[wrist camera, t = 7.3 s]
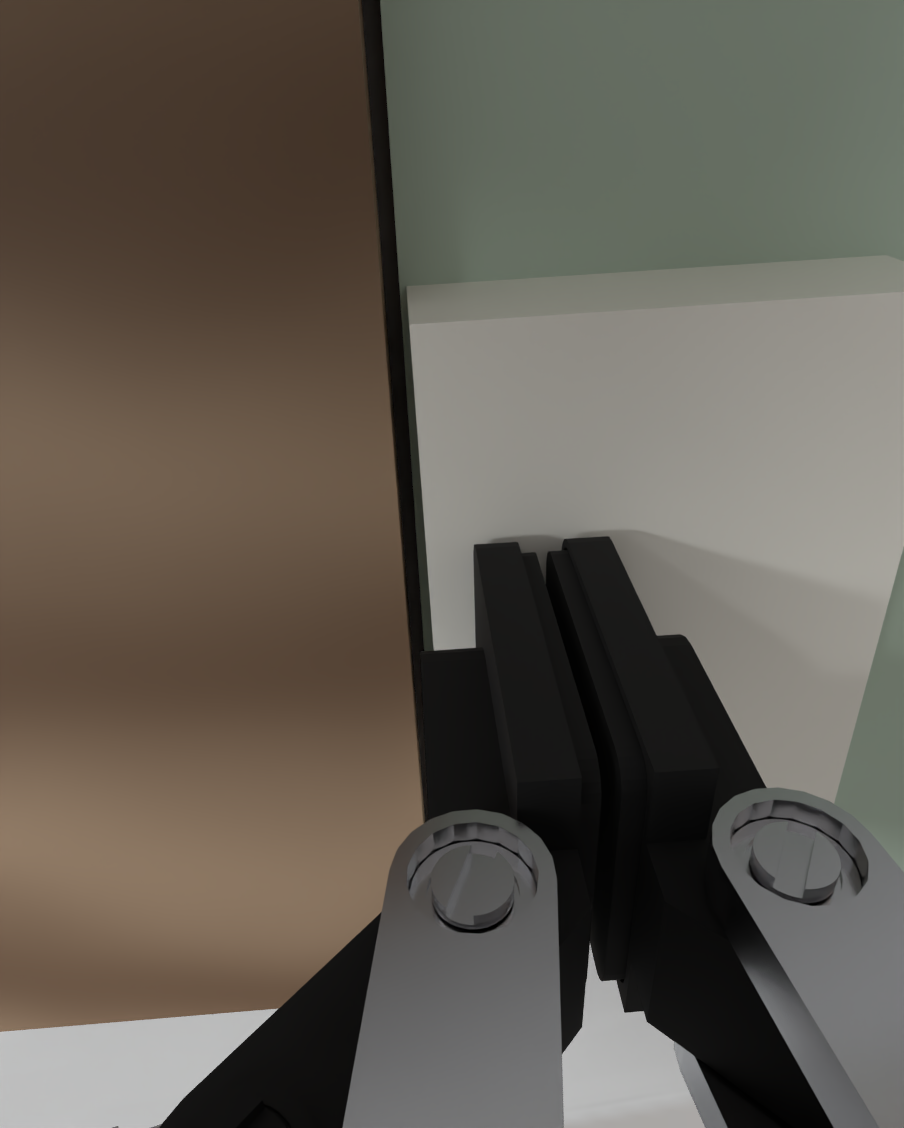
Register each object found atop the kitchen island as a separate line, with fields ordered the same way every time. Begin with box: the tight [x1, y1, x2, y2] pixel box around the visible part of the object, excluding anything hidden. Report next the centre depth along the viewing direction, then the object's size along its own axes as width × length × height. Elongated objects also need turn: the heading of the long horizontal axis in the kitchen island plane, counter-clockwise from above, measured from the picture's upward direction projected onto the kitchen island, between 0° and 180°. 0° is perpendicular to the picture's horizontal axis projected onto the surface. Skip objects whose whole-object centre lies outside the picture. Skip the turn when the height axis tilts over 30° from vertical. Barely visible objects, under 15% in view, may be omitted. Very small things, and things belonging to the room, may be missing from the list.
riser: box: [0, 0, 425, 1032], centre depth 12 cm, size 18×10×2 cm, turn 2°
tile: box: [406, 255, 904, 804], centre depth 11 cm, size 8×6×2 cm
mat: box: [380, 0, 904, 872], centre depth 13 cm, size 17×13×1 cm
